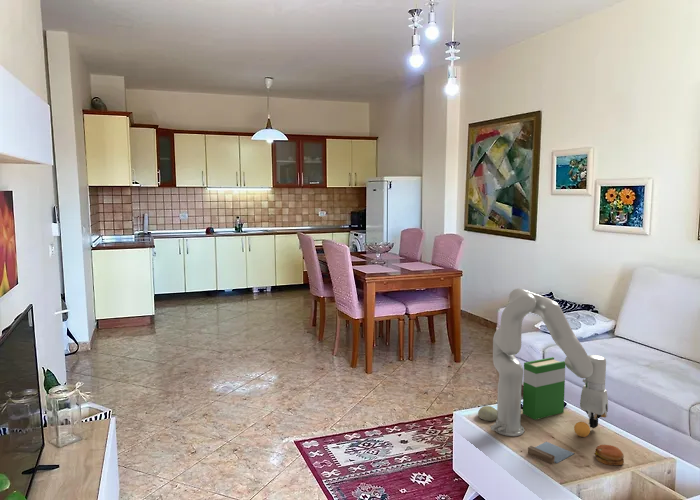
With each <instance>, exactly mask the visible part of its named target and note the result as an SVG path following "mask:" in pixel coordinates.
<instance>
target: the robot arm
mask: <svg viewBox="0 0 700 500" xmlns="http://www.w3.org/2000/svg"><path fill="white" fill-rule="evenodd" d="M508 301H509V303H508V304H507V305H506V306H505V308H503V311H502V312H501V317H500V325H499V327H500V328H497V329H496V330H495V332H494V334H493V338H492V363H493V366H494V368H495V370H496V371H497V373H498V383H497V404H496V405H497V407H496V408H497V409H496V410H497V420H495V422H494V423H493V424H492V425H491V426H490V430H491V431H495V432H496V433H497V434H500V435H503V436H507V437H517V436H518V437H519V436H521V435H523V434H524V433H525V428H524V426H523V425H521V418H522V417H521V416H522V414H521V413H522V411H521V410H522V387H523V386H522V385H523V380H524V367H523V365H522V364H521V362H520V361H519V359H517V357H516V355H517V354H519V352H520V351H521V348H522V330H523V329H522V327H523V320H524V318H525V317H526V316H527V315H528V314H529V313H531V314H535V315H537V316H540V317H541V319H542V321H543V323H544V324H545V327H546V328H547V330H548V332H549V334H550V337H551V339H552V340H553V341H554V343H555V344H556V345H557V346H558V348H560V350H561V351H562V352H563V354H564V355H565V356H566V357H565V359H564V361H565V368H567V369H568V370H569V371H570V372H571V373H573V374H575V375H574V376H576V377H578V378H580V379H582V382H583V383H584V385H582V389H581V394H580V400H579V401H580V402H579V407H580V409H581V411H584V412H585V413H586V414H587V417H588V425H589V427H590V428H592V429H595V428H597V427H598V426H599V419H600V418H607V417H608V411H609V400H608V399H609V398H608V391H607V389H606V375H607V374H606V373H607V371H606V370H607V359H606V358H605V357H604V356H601V355H598V354H589V355H588V353H587V351H586V350H585V348H584V347H583V345H582V344H581V342H580V340H579V339H578V337H577V335H576V334H575V332H574V331H573V329H572V328H571V325H570V323H569V322H568V319H567V318H566V315H565V314H564V312H563V309H562V308H561V306H560V305H559V303H558V302H556V301H554V300H553V299H551V298H549V297H546V296H543V295H540V294H537V293H534V292H531V291H529V290H526V289H523V288H515V289H512V291H510V293H509V295H508Z"/></svg>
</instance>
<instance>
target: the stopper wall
mask: <svg viewBox="0 0 700 500" xmlns="http://www.w3.org/2000/svg"><path fill="white" fill-rule="evenodd" d="M535 447H536V446H533V445H530V446H527V454H528V455H531V456H533V457H534V458H537V459H539V460H542V461H544V462H546V463H548V464H549V465H553V464H554V463H555V462H554V459H555V456H553V455H551V454H549V453H546V452H544V451H542V450H540V449H537V448H535Z"/></svg>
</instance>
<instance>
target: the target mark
mask: <svg viewBox="0 0 700 500" xmlns="http://www.w3.org/2000/svg"><path fill="white" fill-rule="evenodd" d="M534 447H535V448H537V449H540V450H542V451H544V452H546V453H549V454H551V455H553V456H555V459H554V463H555V464H559V463H560V462H563V461H564V460H566V459H567V458H569V457H571V456H573V455H575V453H574V452H572V451H570V450H567V449H565V448H562V447H560V446H558V445H556V444H553V443H551V442H549V441H544V442H543V443H541V444H538V445H537V446H534Z"/></svg>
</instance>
